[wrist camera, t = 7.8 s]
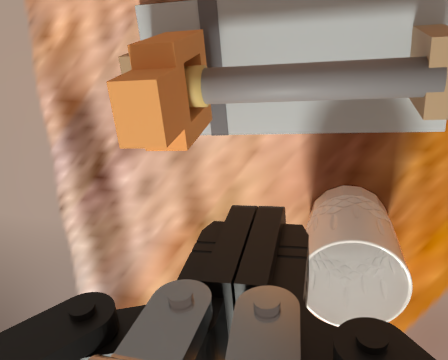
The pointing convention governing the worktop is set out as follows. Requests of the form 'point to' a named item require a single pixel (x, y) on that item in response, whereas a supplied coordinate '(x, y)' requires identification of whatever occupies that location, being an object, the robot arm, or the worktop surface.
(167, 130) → the collar
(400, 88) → the pipe stand
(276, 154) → the worktop surface
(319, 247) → the white cup
